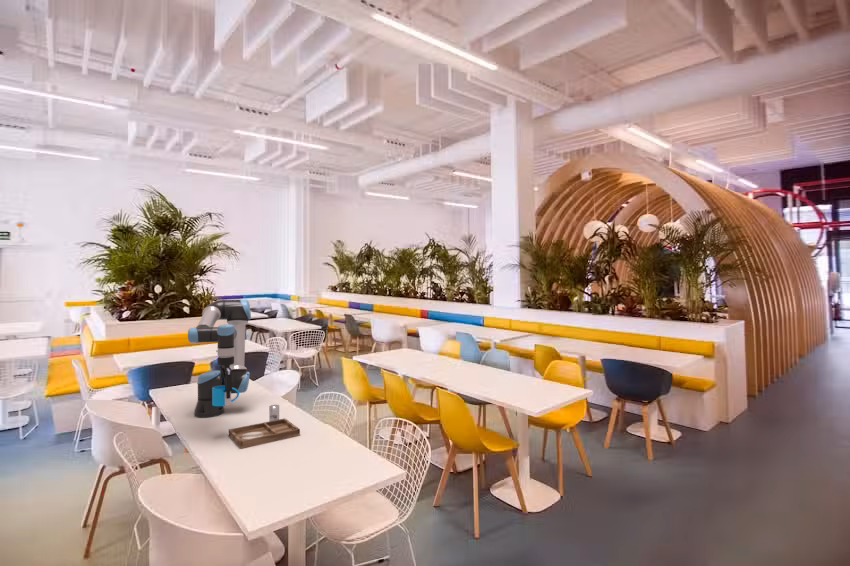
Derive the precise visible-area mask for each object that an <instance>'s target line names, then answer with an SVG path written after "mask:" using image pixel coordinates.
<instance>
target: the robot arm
mask: <svg viewBox="0 0 850 566" xmlns="http://www.w3.org/2000/svg"><path fill="white" fill-rule="evenodd" d="M201 315H202V316H201V318H200V320H199V322H198V324H197V325H196V327H195V326H194V327H189V329H188V331H187V340H188V342H189V343H193V344H194V343H196V344H198V343H217V350H216V353H217V359H216V361H217V363H216V364H217V365H218V366H219V369H220V370H219V369H218V370H217V369H216V370H215V369H214V370H210V371H206V372H203V373H200V374H199V375H198V377H197V384H196V385H197V402H196V405H195V408H194V412H193V415H194V417H196V418H212V417H216V416H220V415H222V414H224V413H225V406H228V405H229V406H230V405H231V404H232V402H231V400H232V394H233V395H234V394H237V392H236V391H235V390H233V389H232V388H235V389H237V390H238V391H239V394H242V393H246V392H247V391H248V387H249V383H250V377H251V376H250V375H251V373H250V372H249V371H248V368H247V367H246V366H245V355H246V354H245V353H246V351H245V350H246V348H245V347H246V325H247V324H248V323H249V320H251V318H252V314H251V306H250V301H249V300H246V299H219V300H215V301H213V302H210V303H209V304H207V305H206V306H205V307H204V309H203V310H202V313H201ZM219 320H224V321H225V320H226V323H227V324H219V325H218V326H215V325H216V323H217V321H219ZM220 385H225V391H224V392H225V406H213V405H212V388H213V387H215V386H220ZM228 388H229V389H228Z"/></svg>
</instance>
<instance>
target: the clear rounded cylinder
mask: <svg viewBox="0 0 850 566" xmlns="http://www.w3.org/2000/svg"><path fill="white" fill-rule="evenodd" d="M268 414H269V416H268V418H269V421H274V420H279V419H280V405H279V404H271V405H269V412H268ZM269 421H268V422H269Z"/></svg>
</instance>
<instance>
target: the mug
mask: <svg viewBox="0 0 850 566" xmlns="http://www.w3.org/2000/svg"><path fill="white" fill-rule="evenodd" d="M228 389H229V388H228ZM232 389H233V390H235V391H236V392H237V393H236V396H235V397H234V398H233V399H231V403H232V402H234V401H236V400H237V399H238V398H239V396H240V393H239V391H238V390H237V389H235V388H232ZM224 391H225V385H220V386H215V387H213V388H212V405H213V406H224V407H225V406H226V405H225V392H224Z"/></svg>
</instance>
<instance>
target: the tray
mask: <svg viewBox="0 0 850 566" xmlns="http://www.w3.org/2000/svg"><path fill="white" fill-rule="evenodd" d="M298 436H301V429H300V428H299V427H298V426H296V425H295V424H294V423H292V422H291V421H290V420H288V419H287V418H285V417H283V418H279V420H274V421H264V422H258V423H255V424H250V425H249V424H248V425H244V426H239V427H235V428H229V429H228V437H229V438H230V439H231V440H232V441H233V443H234V444H235V445H236V446H237V447H238V448H239V449H240V450H241V449H245V448H249V447H250V448H251V447H255V446H258V445H262V444H268V443H271V442H276V441H281V440H284V439H290V438H294V437H298Z"/></svg>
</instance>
